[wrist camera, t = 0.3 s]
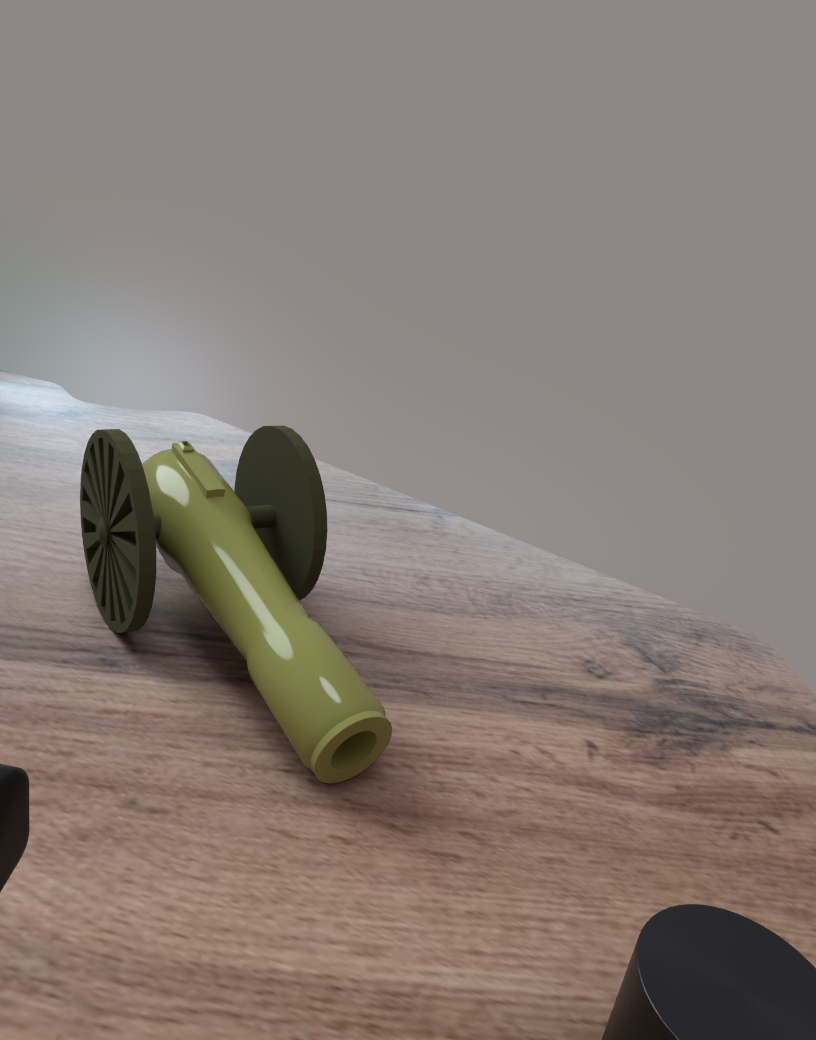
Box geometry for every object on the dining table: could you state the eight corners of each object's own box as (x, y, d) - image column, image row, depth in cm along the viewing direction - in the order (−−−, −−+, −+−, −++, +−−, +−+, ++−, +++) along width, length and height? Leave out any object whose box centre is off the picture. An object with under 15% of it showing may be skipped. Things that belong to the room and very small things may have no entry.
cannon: (451, 755, 38) (497, 546, 34) (227, 837, 31) (250, 586, 27) (238, 552, 56) (251, 400, 52) (66, 574, 49) (65, 400, 45)
